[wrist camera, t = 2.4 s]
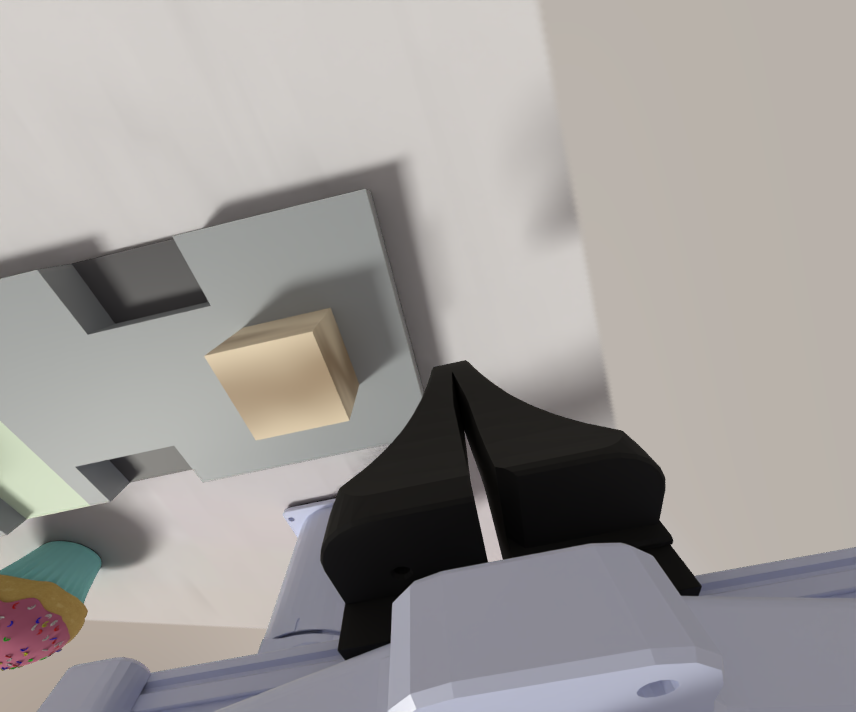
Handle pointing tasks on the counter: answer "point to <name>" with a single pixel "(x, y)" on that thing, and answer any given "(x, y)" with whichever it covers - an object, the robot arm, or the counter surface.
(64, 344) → the track
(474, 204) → the counter surface
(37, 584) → the cupcake
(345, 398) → the block
